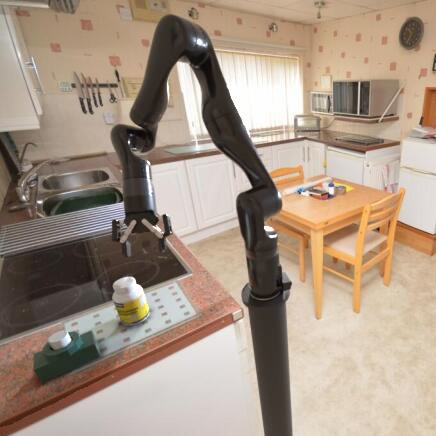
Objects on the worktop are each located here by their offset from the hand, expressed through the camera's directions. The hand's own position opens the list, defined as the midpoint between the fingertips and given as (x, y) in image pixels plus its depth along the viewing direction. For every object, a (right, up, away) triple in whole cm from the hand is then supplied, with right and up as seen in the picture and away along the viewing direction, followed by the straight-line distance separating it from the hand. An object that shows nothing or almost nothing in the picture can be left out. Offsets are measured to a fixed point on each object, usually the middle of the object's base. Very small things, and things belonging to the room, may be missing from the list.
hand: (145, 254), depth 80 cm
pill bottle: (-1, -17, -3) cm, 17 cm away
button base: (-7, -22, -15) cm, 28 cm away
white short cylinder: (-7, -17, -17) cm, 25 cm away
